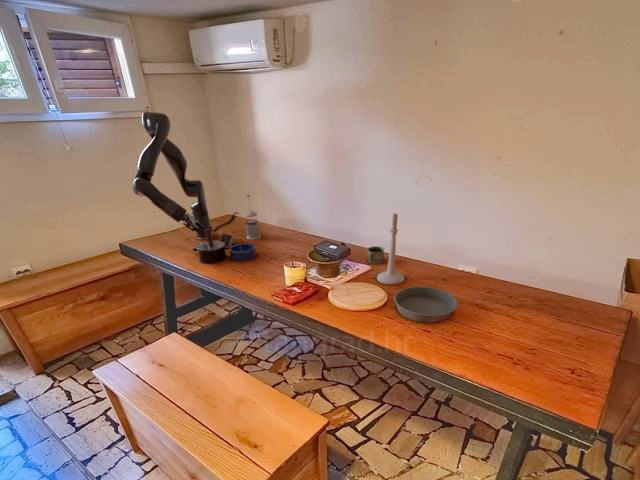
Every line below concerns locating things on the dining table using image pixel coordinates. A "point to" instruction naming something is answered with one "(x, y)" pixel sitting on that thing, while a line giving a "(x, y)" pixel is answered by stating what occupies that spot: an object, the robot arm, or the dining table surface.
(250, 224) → the french press
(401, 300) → the cake pan
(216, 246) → the lid
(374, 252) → the vessel
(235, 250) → the blue round bowl
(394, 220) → the candlestick
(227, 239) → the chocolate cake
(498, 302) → the dining table surface
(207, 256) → the pot
